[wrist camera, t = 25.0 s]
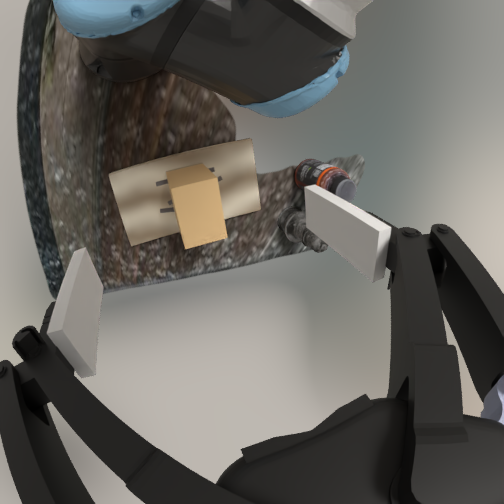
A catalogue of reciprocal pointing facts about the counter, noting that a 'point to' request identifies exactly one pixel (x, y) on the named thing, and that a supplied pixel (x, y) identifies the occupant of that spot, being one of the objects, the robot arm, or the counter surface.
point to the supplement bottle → (325, 178)
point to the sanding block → (197, 204)
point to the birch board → (158, 193)
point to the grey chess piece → (299, 229)
